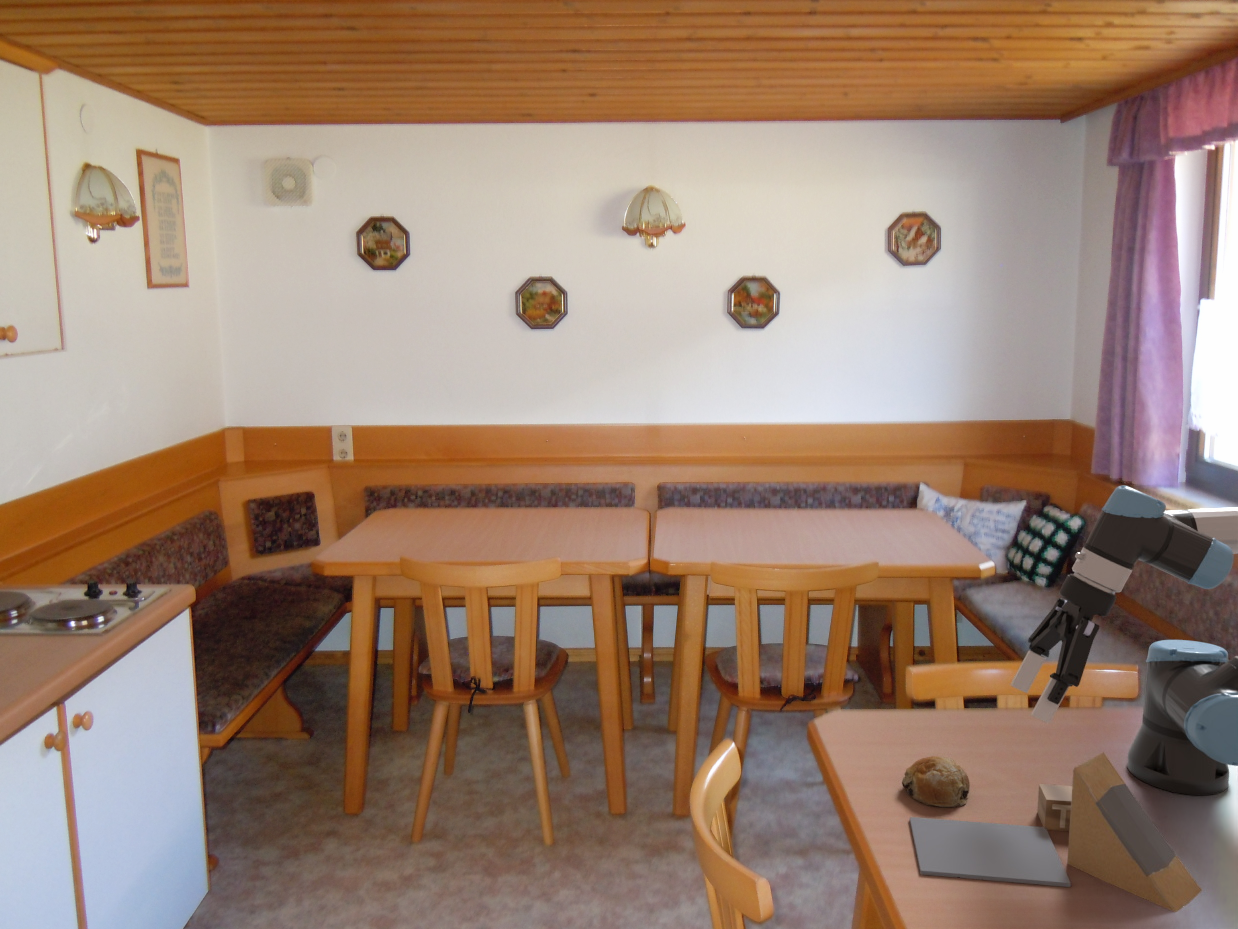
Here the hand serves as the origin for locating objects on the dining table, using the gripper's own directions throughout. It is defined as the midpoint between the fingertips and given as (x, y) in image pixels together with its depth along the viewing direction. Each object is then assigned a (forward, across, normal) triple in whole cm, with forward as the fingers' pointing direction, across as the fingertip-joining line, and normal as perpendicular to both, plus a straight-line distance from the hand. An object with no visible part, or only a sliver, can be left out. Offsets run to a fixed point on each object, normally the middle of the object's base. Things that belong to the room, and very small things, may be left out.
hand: (1028, 703), depth 161 cm
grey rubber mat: (+20, +13, 0) cm, 24 cm away
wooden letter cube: (+15, +2, +11) cm, 19 cm away
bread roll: (+22, -4, -5) cm, 22 cm away
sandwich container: (+13, +17, +18) cm, 28 cm away
